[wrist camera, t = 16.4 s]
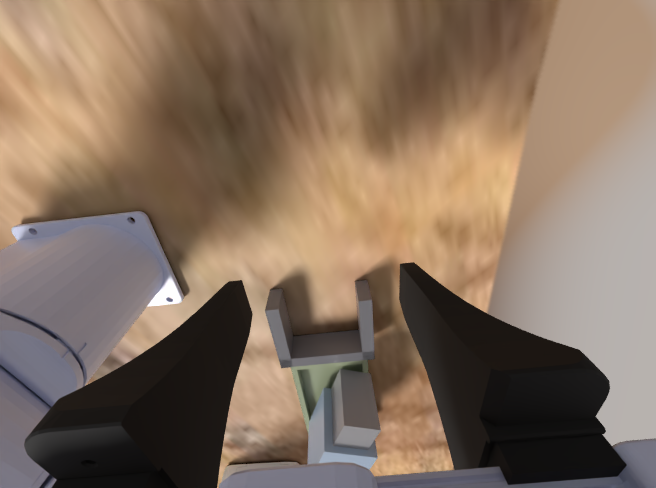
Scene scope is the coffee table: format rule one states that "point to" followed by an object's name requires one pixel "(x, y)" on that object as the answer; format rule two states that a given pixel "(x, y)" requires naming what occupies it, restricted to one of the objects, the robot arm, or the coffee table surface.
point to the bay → (321, 334)
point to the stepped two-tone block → (345, 422)
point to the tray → (319, 382)
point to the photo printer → (253, 467)
